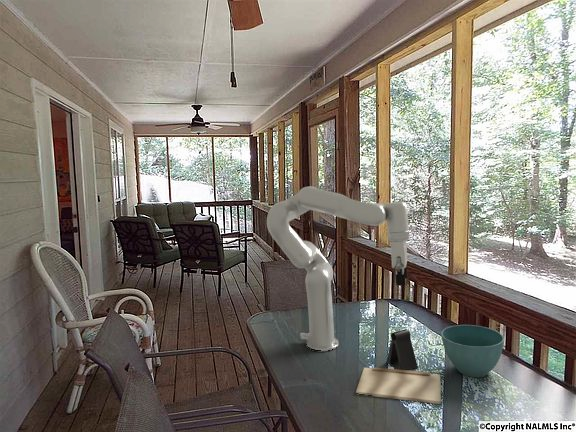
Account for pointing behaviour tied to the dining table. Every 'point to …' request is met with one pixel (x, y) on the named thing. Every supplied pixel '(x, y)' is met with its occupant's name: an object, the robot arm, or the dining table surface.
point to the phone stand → (402, 351)
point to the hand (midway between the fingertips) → (401, 281)
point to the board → (400, 384)
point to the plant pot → (473, 348)
